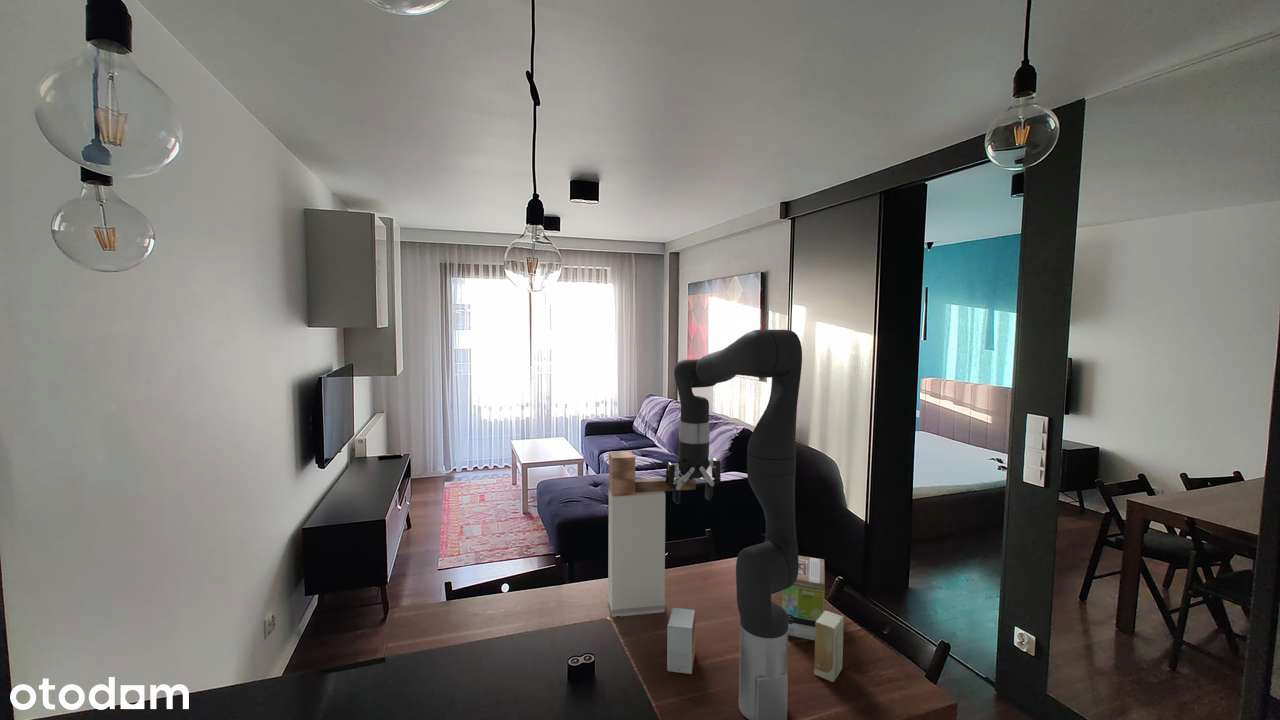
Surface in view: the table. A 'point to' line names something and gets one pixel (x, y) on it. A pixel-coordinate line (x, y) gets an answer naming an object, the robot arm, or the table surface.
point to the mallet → (625, 481)
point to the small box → (681, 640)
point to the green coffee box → (805, 598)
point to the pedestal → (636, 553)
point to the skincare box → (828, 645)
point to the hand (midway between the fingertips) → (692, 501)
